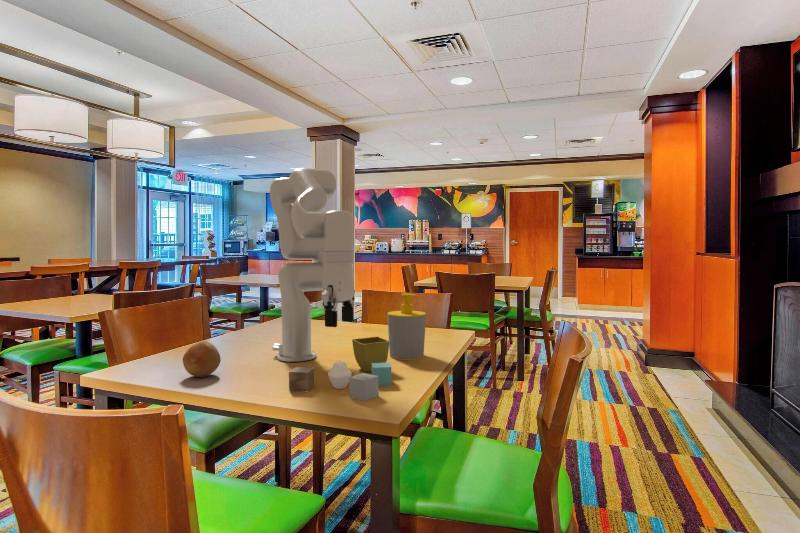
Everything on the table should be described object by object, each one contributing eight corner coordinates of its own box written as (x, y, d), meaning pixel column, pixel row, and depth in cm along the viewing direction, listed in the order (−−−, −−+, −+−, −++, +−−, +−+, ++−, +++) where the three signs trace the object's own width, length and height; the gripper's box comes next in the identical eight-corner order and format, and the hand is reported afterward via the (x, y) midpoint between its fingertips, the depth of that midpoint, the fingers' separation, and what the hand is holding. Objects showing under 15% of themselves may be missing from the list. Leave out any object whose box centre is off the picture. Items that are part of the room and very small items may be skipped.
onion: (183, 373, 135) (182, 339, 134) (220, 370, 139) (219, 337, 138) (182, 382, 126) (181, 346, 125) (221, 378, 130) (220, 343, 129)
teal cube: (372, 386, 123) (372, 367, 123) (371, 381, 128) (371, 363, 128) (391, 385, 123) (391, 367, 123) (389, 380, 128) (389, 362, 128)
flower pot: (362, 374, 134) (362, 344, 133) (351, 368, 141) (351, 338, 141) (390, 371, 138) (390, 341, 137) (377, 364, 145) (377, 336, 145)
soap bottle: (426, 360, 150) (426, 295, 149) (386, 360, 150) (386, 295, 150) (425, 351, 163) (425, 292, 162) (388, 351, 164) (388, 291, 163)
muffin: (356, 386, 123) (356, 360, 122) (341, 392, 118) (341, 364, 117) (338, 382, 126) (338, 357, 126) (323, 388, 121) (322, 361, 121)
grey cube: (349, 397, 114) (349, 377, 113) (362, 392, 118) (362, 372, 118) (365, 401, 111) (365, 380, 111) (378, 395, 115) (378, 375, 115)
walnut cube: (289, 391, 119) (288, 371, 119) (296, 385, 124) (296, 366, 124) (307, 392, 118) (307, 372, 118) (314, 386, 123) (314, 367, 123)
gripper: (340, 258, 130) (341, 318, 130) (309, 259, 114) (310, 328, 114) (365, 258, 128) (365, 319, 128) (337, 258, 111) (337, 329, 112)
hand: (339, 323), depth 121 cm, fingers open, 9 cm apart
